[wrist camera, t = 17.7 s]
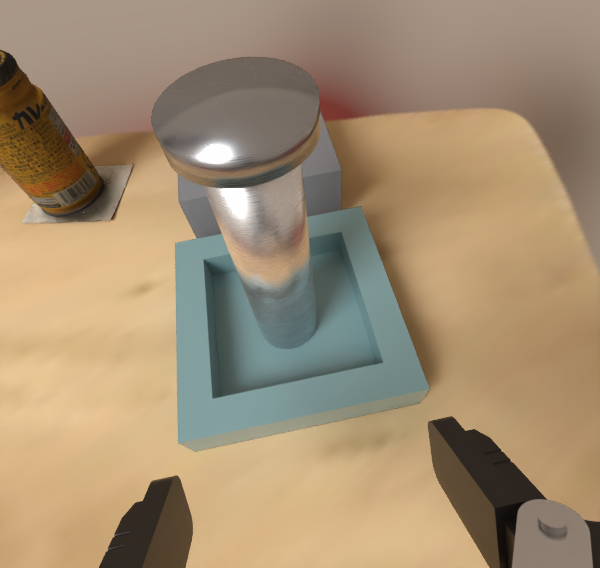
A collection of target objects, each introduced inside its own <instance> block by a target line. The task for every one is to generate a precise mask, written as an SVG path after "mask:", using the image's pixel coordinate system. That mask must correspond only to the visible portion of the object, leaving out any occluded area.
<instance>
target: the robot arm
mask: <svg viewBox="0 0 600 568" xmlns="http://www.w3.org/2000/svg"><path fill="white" fill-rule="evenodd" d="M428 431H429V438H430V446H431V454H432V462H433V467H434V470H435V474H436V476H437V479H438V481H439V483H440V485H441V487H442V488H443V490H444V492H445V493H446V495H447V497H448V499H449V500H450V502H451V504H452V505H453V507H454V509H455V510H456V512H457V514H458V515H459V517H460V519H461V520H462V522H463V524H464V525H465V527H466V529H467V530H468V532H469V534H470V535H471V537H472V539H473V540H474V542H475V544H476V545H477V547H478V549H479V550H480V552H481V554H482V555H483V557H484V559H485V560H486V562H487V564H488V565H489V567H490V568H600V522H594V521H587V520H584V519H583V518H582V517H581V516H580V515H579V514H578V513H576V512H575V511H574V510H572V509H571V508H569V507H567V506H565V505H563V504H561V503H558V502H555V501H551V500H547V499H546V498H545V497H544V496H543V495H542V494H541V492H540V491H539V490H538V489H537V488H536V487H535V486H534V485H533V484H532V483H531V482H530V481H529V479H528V478H527V477H526V476H525V475H524V474H523V473H522V472H521V471H520V470H519V469H518V468H517V466H516V465H515V464H514V463H513V462H511V461H510V459H509V458H508V457H507V456H506V455H505V454H504V452H502V451H501V449H500V448H499V447H498V446H497V445H496V444H495V443H494V442H493V441H492V439H491V438H489V437H488V436H486V435H484V434H482V433H480V432H478V431H477V430H475V429H473V430H468V431H465V430H464V429H463V428H462V427H461V425H460V424H459V423H458V422H457V421H456V419H455V418H454V417H452V416H451V417H446V418H442V419H437V420H433V421H429V422H428ZM114 535H115V537H114V538H113V539H112V541H111V543H110V545H109V547H108V551H107V552H106V553H105V556H104V558H103V560H102V562H101V564H100V566H99V568H185V567H186V563H187V558H188V554H189V550H190V545H191V541H192V535H193V523H192V517H191V513H190V510H189V506H188V503H187V500H186V497H185V493H184V490H183V487H182V483H181V480H180V478H179V477H178V476H172V477H168V478H163V479H158V480H154V481H152V482H151V483H150V485H149V488H148V490H147V492H146V495H145V497H144V499H143V501H141V502H136V503H135V504H134V505H133V506H132V507H131V508H130V509H129V511H128V512H127V513H126V514H125V515H124V516H123V518H122V519H121V521H120V524H119V526H118V528H117V530H116V532H115V534H114Z"/></svg>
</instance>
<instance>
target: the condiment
mask: <svg viewBox="0 0 600 568" xmlns="http://www.w3.org/2000/svg"><path fill="white" fill-rule="evenodd" d="M0 166H1V167H2V168H3V169H4V170H5V171H6V172H7V174H9V175H10V176H11V178H12V179H13V180H14V181H15V182H16V183H17V184H18V185H19V186H20V188H21V189H22V190H23V191H24V192H25V193H26V194H27V195H28V196H29V197H30V198H31V199H32V200H33V201H34V203H33V205H32V206H31V207H30V209H29V210H28V212H27V214H26V215H25V217H24V219H23V221H22V223H56V222H58V223H62V222H71V221H79V222H80V221H97V220H110V219H111V217H112V215H113V213H114V212H115V209H116V207H117V205H118V202H119V200H120V198H121V196H122V193H123V190H124V189H125V186H126V182H127V179H128V177H129V175H130V172H131V169H132V166H133V165H111V166H93V165H92V163H91V162H90V160H89V158H88V157H87V156H86V154H85V153H84V151H83V150H82V148H81V147H80V145H79V144H78V143H77V141H76V140H75V138H74V137H73V136H72V134H71V132H70V131H69V130H68V128H67V126H66V125H65V124H64V122H63V121H62V119H61V118H60V116H59V115H58V113H57V112H56V110H55V109H54V107H53V106H52V105H51V103H50V102H49V100H48V99H47V97H46V96H45V94H44V93H43V92H42V90H41V89H40V88H38V87H37V86H36V85H33V84H31V83H30V81H29V79H28V77H27V75H26V74H25V73H24V72H23V71H22V70H20V68H19V67H18V65H17V62H16V61H15V59H14V58H13V56H12V55H11V54H9V53H7V52H5V51H2V50H0ZM104 180H106V181H104ZM107 181H108V182H109V183H107ZM83 212H85V213H83Z"/></svg>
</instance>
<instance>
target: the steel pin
mask: <svg viewBox="0 0 600 568" xmlns="http://www.w3.org/2000/svg"><path fill="white" fill-rule="evenodd" d="M151 119H152V126H153V129H154V132H155V134H156V136H157V138H158V140H159V142H160V145H161V147H162V149H163V151H164V153H165V155H166V158H167V160H168V162H169V163H170V165H171V167H172V168H173V169H174V170H175V171H176V172H177V173H178V174H179V175H181V176H182V177H184V178H185V179H187V180H189V181H191V182H194V183H196V184H199V185H203V187H204V190H205V192H206V195H207V197H208V200H209V202H210V205H211V207H212V210H213V213H214V215H215V218H216V220H217V223H218V225H219V228H220V230H221V233H222V235H223V238H224V240H225V243H226V245H227V248H228V250H229V253H230V256H231V258H232V261H233V263H234V266H235V268H236V271H237V273H238V276H239V278H240V281H241V283H242V286H243V288H244V291H245V293H246V296H247V299H248V301H249V304H250V306H251V309H252V311H253V314H254V316H255V319H256V321H257V324H258V326H259V329H260V331H261V334H262V336H263V337H264V339H265V340H266V341H267V342H268V343H269V344H271V345H273V346H274V347H277V348H281V349H292V348H297V347H299V346H301V345H303V344H305V343H306V342H307V341H309V340H310V338H311V337H312V336H313V334H314V333H315V330H316V327H317V313H316V302H315V292H314V282H313V272H312V262H311V252H310V242H309V232H308V222H307V212H306V201H305V191H304V181H303V171H302V163H303V162H304V161H305V160H306V159H307V158H308V157H309V156H310V154H311V153H312V152H313V150H314V149H315V147H316V145H317V143H318V140H319V138H320V132H321V124H320V100H319V90H318V86H317V84H316V82H315V81H314V79H313V78H312V77H311V75H310V74H308V73H307V72H306V71H305V70H303V69H302V68H300V67H298V66H296V65H294V64H292V63H289V62H286V61H283V60H279V59H274V58H266V57H241V58H234V59H227V60H222V61H218V62H215V63H211V64H208V65H205V66H202V67H200V68H197V69H195V70H193V71H191V72H189V73H187V74H185V75H184V76H182V77H180V78H179V79H178V80H176V81H175V82H174V83H172V84H171V85H170V86H169V87H168V88H167V89H166V90H165V91H164V92H163V93H162V94H161V95H160V97H159V98H158V100H157V101H156V103H155V106H154V108H153V110H152V117H151Z"/></svg>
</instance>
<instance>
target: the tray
mask: <svg viewBox="0 0 600 568" xmlns="http://www.w3.org/2000/svg"><path fill="white" fill-rule="evenodd" d="M307 222H308V232H309V242H310V252H311V262H312V272H313V282H314V292H315V302H316V313H317V327H316V330H315V333H314V334H313V336H312V337H311V338H310V340H309V341H307V342H306V343H305V344H303V345H301V346H299V347H297V348H292V349H281V348H277V347H274V346H273V345H271V344H269V343H268V342H267V341H266V340H265V339H264V337H263V336H262V334H261V331H260V329H259V326H258V324H257V321H256V319H255V316H254V314H253V311H252V309H251V306H250V304H249V301H248V299H247V296H246V293H245V291H244V288H243V286H242V283H241V281H240V278H239V276H238V273H237V271H236V268H235V266H234V263H233V261H232V258H231V256H230V253H229V250H228V248H227V245H226V243H225V240H224V238H223V235H222V234H218V235H213V236H208V237H203V238H198V239H193V240H188V241H183V242H178V243H175V269H176V335H177V401H178V443H179V444H181V445H183V446H185V447H187V448H189V449H191V450H193V451H195V452H196V451H201V450H206V449H210V448H215V447H220V446H224V445H229V444H234V443H238V442H243V441H247V440H252V439H257V438H261V437H266V436H271V435H275V434H280V433H285V432H289V431H294V430H298V429H303V428H308V427H312V426H317V425H322V424H326V423H331V422H336V421H340V420H345V419H349V418H354V417H359V416H363V415H368V414H373V413H377V412H382V411H387V410H391V409H396V408H400V407H405V406H410V405H414V404H419V403H420V402H421V401H422V399H423V398H424V397H425V395H426V394H427V392H428V391H429V390H430V388H429V385H428V383H427V380H426V377H425V375H424V372H423V370H422V367H421V364H420V362H419V359H418V356H417V354H416V351H415V348H414V346H413V343H412V340H411V338H410V335H409V332H408V330H407V327H406V324H405V322H404V319H403V316H402V314H401V311H400V308H399V306H398V303H397V300H396V298H395V295H394V292H393V290H392V287H391V284H390V282H389V279H388V276H387V274H386V271H385V268H384V266H383V263H382V260H381V258H380V255H379V252H378V250H377V247H376V244H375V242H374V239H373V237H372V234H371V231H370V229H369V226H368V223H367V221H366V218H365V215H364V213H363V210H362V207H361V206H360V207H355V208H349V209H344V210H339V211H334V212H329V213H324V214H319V215H314V216H309V217H307Z"/></svg>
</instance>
